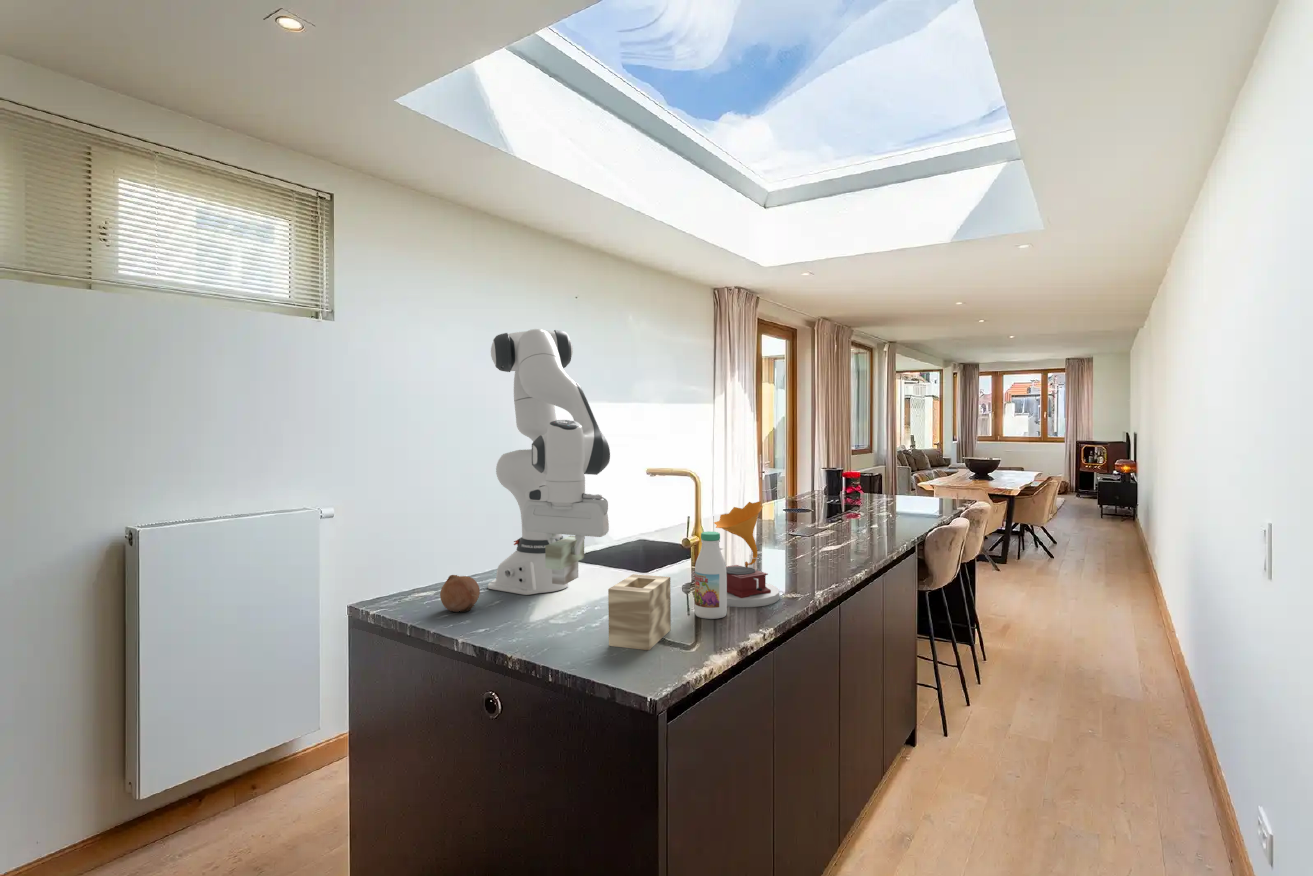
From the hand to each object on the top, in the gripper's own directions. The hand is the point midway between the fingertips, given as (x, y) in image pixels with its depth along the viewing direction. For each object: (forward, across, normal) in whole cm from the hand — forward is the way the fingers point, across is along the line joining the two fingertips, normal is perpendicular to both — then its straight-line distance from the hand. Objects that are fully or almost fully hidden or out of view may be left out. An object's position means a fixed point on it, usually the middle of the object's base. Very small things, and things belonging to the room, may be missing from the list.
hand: (565, 553), depth 155 cm
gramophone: (+18, -32, -39) cm, 53 cm away
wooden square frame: (+17, -18, 0) cm, 25 cm away
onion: (+18, +31, -4) cm, 37 cm away
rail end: (+6, 0, 0) cm, 6 cm away
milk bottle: (+17, -29, -20) cm, 39 cm away
